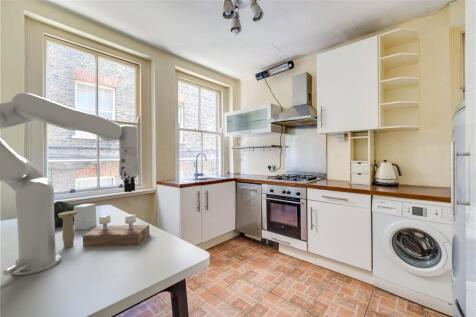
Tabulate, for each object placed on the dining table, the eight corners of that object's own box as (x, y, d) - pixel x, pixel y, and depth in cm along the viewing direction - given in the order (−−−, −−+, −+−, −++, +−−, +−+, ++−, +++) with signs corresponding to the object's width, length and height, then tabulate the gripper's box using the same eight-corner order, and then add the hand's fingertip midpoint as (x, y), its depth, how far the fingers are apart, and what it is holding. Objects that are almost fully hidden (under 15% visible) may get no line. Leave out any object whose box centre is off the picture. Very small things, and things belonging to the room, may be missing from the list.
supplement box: (97, 225, 117) (96, 203, 117) (86, 229, 110) (85, 206, 110) (85, 224, 118) (84, 203, 118) (73, 229, 111) (73, 206, 110)
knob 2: (133, 233, 93) (132, 217, 93) (123, 233, 93) (123, 217, 93) (137, 229, 98) (137, 214, 97) (128, 229, 97) (128, 214, 97)
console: (137, 245, 89) (137, 234, 89) (83, 246, 89) (82, 235, 89) (149, 234, 101) (149, 224, 101) (101, 235, 101) (100, 225, 101)
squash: (79, 209, 132) (58, 195, 124) (86, 214, 122) (64, 199, 114) (58, 228, 124) (34, 214, 116) (63, 235, 115) (38, 220, 106)
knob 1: (107, 233, 93) (106, 217, 93) (97, 234, 93) (96, 217, 93) (112, 230, 97) (112, 214, 97) (103, 230, 97) (103, 215, 97)
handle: (57, 247, 89) (56, 213, 88) (75, 242, 94) (74, 210, 94) (61, 250, 86) (60, 215, 86) (79, 244, 91) (78, 211, 91)
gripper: (127, 151, 87) (128, 194, 87) (144, 152, 103) (145, 188, 103) (110, 152, 87) (111, 194, 87) (129, 152, 103) (130, 188, 103)
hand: (129, 191), depth 95 cm, fingers closed
